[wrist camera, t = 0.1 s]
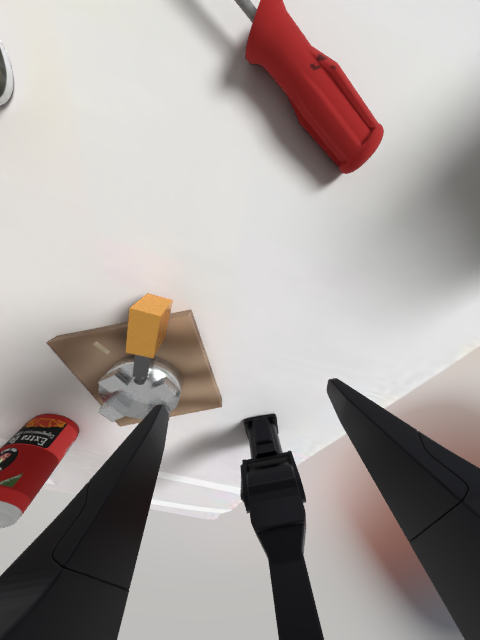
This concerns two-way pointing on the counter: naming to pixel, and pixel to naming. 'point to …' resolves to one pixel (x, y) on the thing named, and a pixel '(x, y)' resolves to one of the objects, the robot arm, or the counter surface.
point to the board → (110, 346)
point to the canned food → (31, 462)
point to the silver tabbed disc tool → (142, 366)
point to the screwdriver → (312, 86)
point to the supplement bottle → (5, 76)
